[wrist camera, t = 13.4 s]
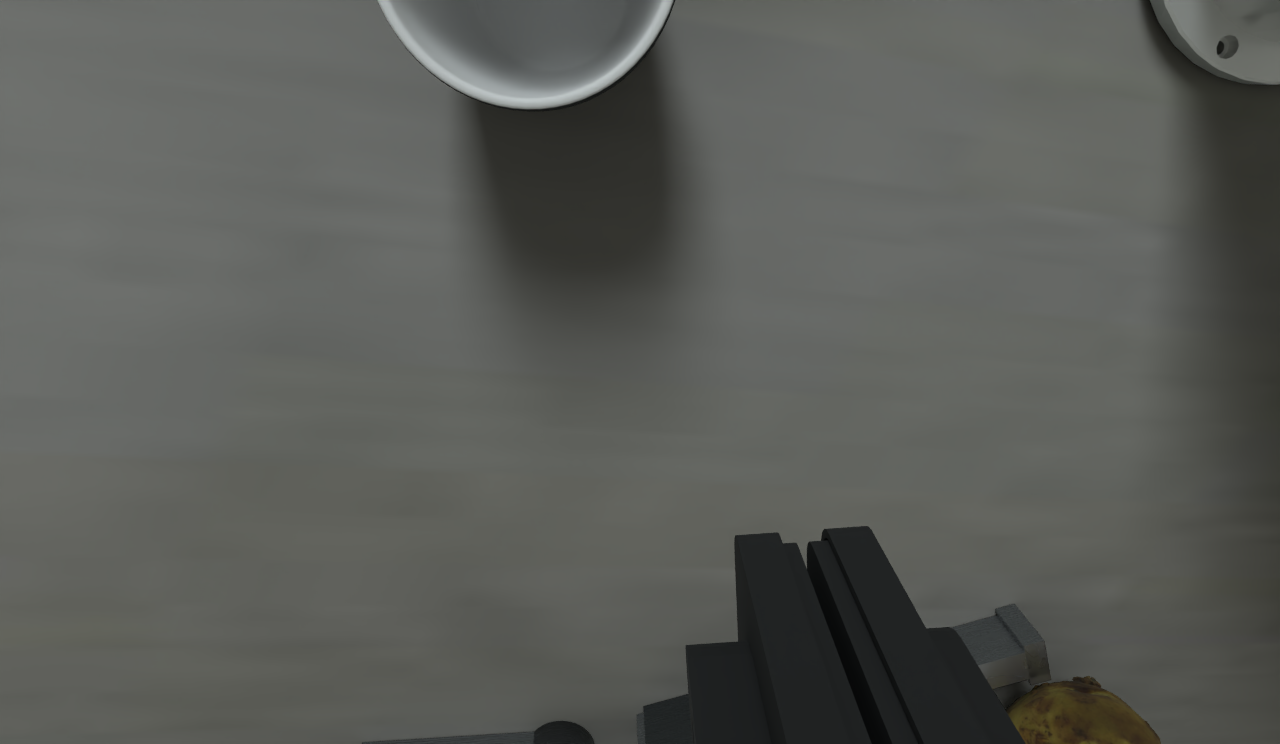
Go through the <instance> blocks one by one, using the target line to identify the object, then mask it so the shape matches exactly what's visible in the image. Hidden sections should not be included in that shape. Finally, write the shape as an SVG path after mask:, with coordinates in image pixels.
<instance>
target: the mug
mask: <svg viewBox="0 0 1280 744" xmlns="http://www.w3.org/2000/svg"><path fill="white" fill-rule="evenodd" d="M377 1H378V3H379V5H380V7H381V9H382V11H383V13H384V15H385V17H386V19H387V21H388V23H389V24H390V26H391V27H392V29H393V31H394V32H395V34H396V35H397V37H398V38H399V39H400V41H401V42H402V43H403V45H404V46H405V47H406V49H407V50H408V51H409V52H410V53H411V54H412V55H413V57H414V58H415V59H416V60H417V61H418V62H419V63H420V64H421V65H422V66H424V67H425V68H426V69H427V70H428V71H429V72H430V73H431V74H433V75H434V76H435V77H437V78H438V79H439V80H440V81H442V82H443V83H445V84H446V85H448V86H450V87H451V88H453V89H454V90H456V91H458V92H460V93H462V94H464V95H466V96H468V97H470V98H473V99H475V100H478V101H480V102H483V103H486V104H489V105H492V106H496V107H500V108H505V109H510V110H518V111H549V110H557V109H562V108H566V107H570V106H574V105H577V104H580V103H583V102H586V101H588V100H590V99H592V98H594V97H596V96H599V95H600V94H602V93H604V92H605V91H607V90H609V89H610V88H612V87H613V86H615V85H616V84H617V83H619V82H620V81H621V80H623V79H624V78H625V77H626V76H627V75H628V74H630V73H631V72H632V71H633V70H634V69H635V68H636V67H637V66H638V65H639V63H640V62H641V61H642V60H643V59H644V58H645V57H646V55H647V54H648V52H649V51H650V50H651V48H652V47H653V46H654V44H655V42H656V41H657V39H658V37H659V36H660V34H661V32H662V31H663V29H664V26H665V24H666V22H667V20H668V18H669V16H670V13H671V10H672V8H673V5H674V2H675V0H377Z"/></svg>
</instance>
